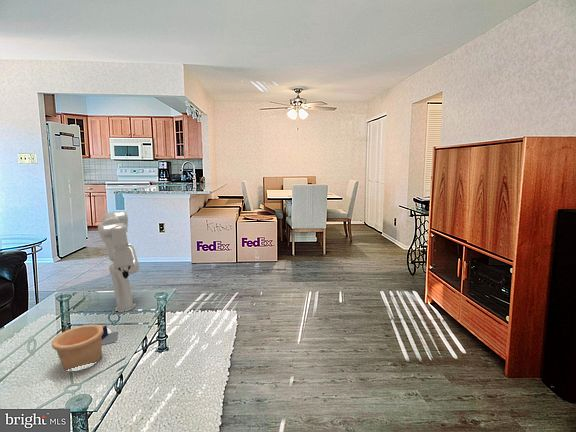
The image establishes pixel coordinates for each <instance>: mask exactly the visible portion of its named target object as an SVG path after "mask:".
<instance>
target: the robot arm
mask: <svg viewBox="0 0 576 432" xmlns="http://www.w3.org/2000/svg"><path fill="white" fill-rule="evenodd" d="M128 225H129V218H128V214H127V213H126V212H125V211H122V210H119V211H111V212H107V213H105V214H104V215H103V216H102V220H101V222H100V223H99V224H98V226H97V231H98V235H99V236H100V238H101V240H102V241H103V242H104V244H105V248H106V250H107V251H106V252H107V257H108V258H109V261H110V262H112V263H111V264H110V265H109V267H108V269H109V274H110V277H111V280H112V281H111V282H112V285H113V291H114V296H115V301H116V302H115V303H116V306H115V308H114V312H116V311H118V312H117V313H123V312H124V311H125V312H129V311H132V310H133V309H135V308H136V306H137V305H136V303H135V302H133V297H132V296H133V295H132V291H131V284H130V280H129V279H128V278H129V276H130V275H133V274H136V273H138V272H139V271H140V264H139V260H138V258H137V254H136V251H135V247H134V246H133V245H132V243H129V241H128V237H127V236H128V235H127V232H128ZM134 307H135V308H134ZM125 312H124V313H125Z"/></svg>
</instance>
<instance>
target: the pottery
mask: <svg viewBox="0 0 576 432" xmlns="http://www.w3.org/2000/svg"><path fill="white" fill-rule="evenodd" d="M100 325H101V324H95V323H94V324H84V325H79V326H76V327H72V328H69V329H68V330H65V331H63V332H60V333H59V334H58V335H57V336H55V337H54V338H53V340H52V341H51V347H52V349H54V350H55V351H56V353H57V355H58V359H59V360H60V363H61V366H62V368H63V370H64V369H65V370H68V369H71V368H75V367H78V366H82V365H86V364H90V363H95V362H98V361H99V360H100V359H101V360H102V358H103V356H102V355H103V354H102V352H103V351H102V347H103V345H102V338H101V336H102V335H103V333H104V332H103V327H101V326H100ZM101 357H102V358H101ZM101 360H100V361H101ZM100 361H99V362H100ZM99 362H98V363H99ZM65 370H64V371H65Z"/></svg>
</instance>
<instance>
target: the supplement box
mask: <svg viewBox="0 0 576 432" xmlns="http://www.w3.org/2000/svg"><path fill="white" fill-rule="evenodd" d="M99 325H100V326H101V327H103V332H104V333H103V335H102V336H101V338H102V339H104V338H105V337H106V336H107V335H108V334H109V332H108V327H107V325H103V324H102V325H101V324H99Z"/></svg>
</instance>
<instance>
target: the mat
mask: <svg viewBox="0 0 576 432" xmlns="http://www.w3.org/2000/svg"><path fill="white" fill-rule="evenodd" d="M117 336H119V331H115V332H110V333H109V332H108V335H107V336H106V337H105V338H104V339H102V346H106V345H109V344H114V342H115V341H116V340H117V341H118V337H117ZM115 343H116V342H115Z"/></svg>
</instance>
